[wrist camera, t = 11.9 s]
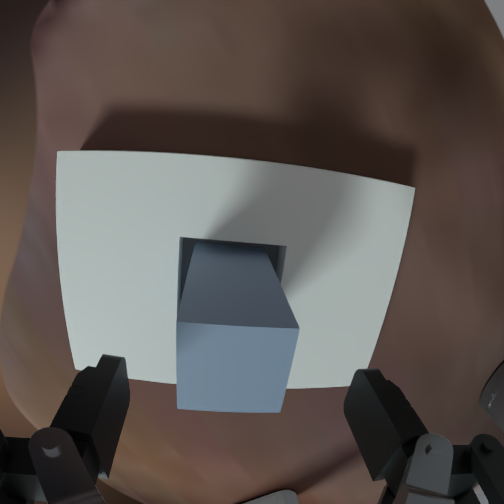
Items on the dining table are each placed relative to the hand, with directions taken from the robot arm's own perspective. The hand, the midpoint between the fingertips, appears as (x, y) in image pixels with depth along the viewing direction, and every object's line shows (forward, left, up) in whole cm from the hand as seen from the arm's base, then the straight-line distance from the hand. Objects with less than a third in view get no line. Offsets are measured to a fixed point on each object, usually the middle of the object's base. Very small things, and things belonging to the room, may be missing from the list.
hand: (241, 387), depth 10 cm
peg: (0, 0, -10) cm, 10 cm away
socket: (0, 0, -11) cm, 11 cm away
